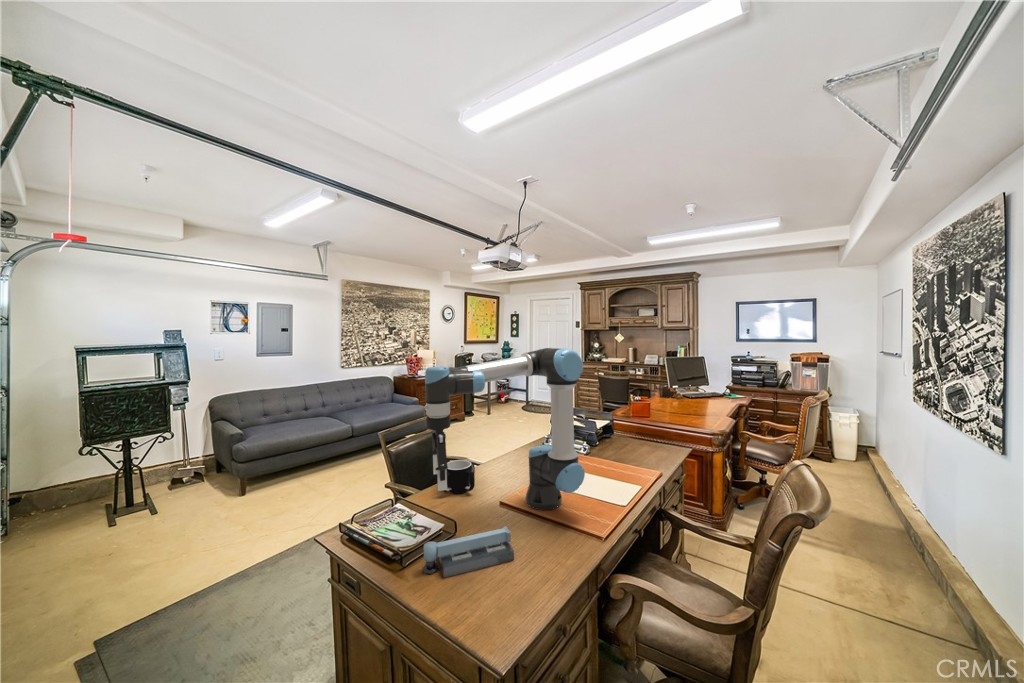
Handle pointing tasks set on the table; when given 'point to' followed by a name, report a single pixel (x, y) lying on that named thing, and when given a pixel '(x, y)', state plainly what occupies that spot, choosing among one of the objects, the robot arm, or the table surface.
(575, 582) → the table surface
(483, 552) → the block
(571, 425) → the robot arm
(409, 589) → the table surface
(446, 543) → the hole punch handle
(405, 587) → the table surface
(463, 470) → the black pot
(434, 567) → the black short cylinder
